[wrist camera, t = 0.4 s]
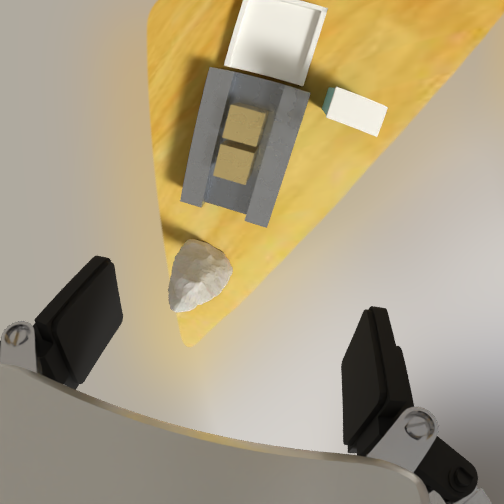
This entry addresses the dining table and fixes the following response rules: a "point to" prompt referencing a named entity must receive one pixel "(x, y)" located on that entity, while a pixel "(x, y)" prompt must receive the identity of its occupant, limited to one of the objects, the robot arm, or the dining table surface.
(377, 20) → the dining table surface
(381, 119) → the teal rectangular block
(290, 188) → the dining table surface
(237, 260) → the dining table surface
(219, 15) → the dining table surface
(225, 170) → the gold cube
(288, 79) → the tray
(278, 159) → the slot board
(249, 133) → the chip
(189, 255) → the stone tool
